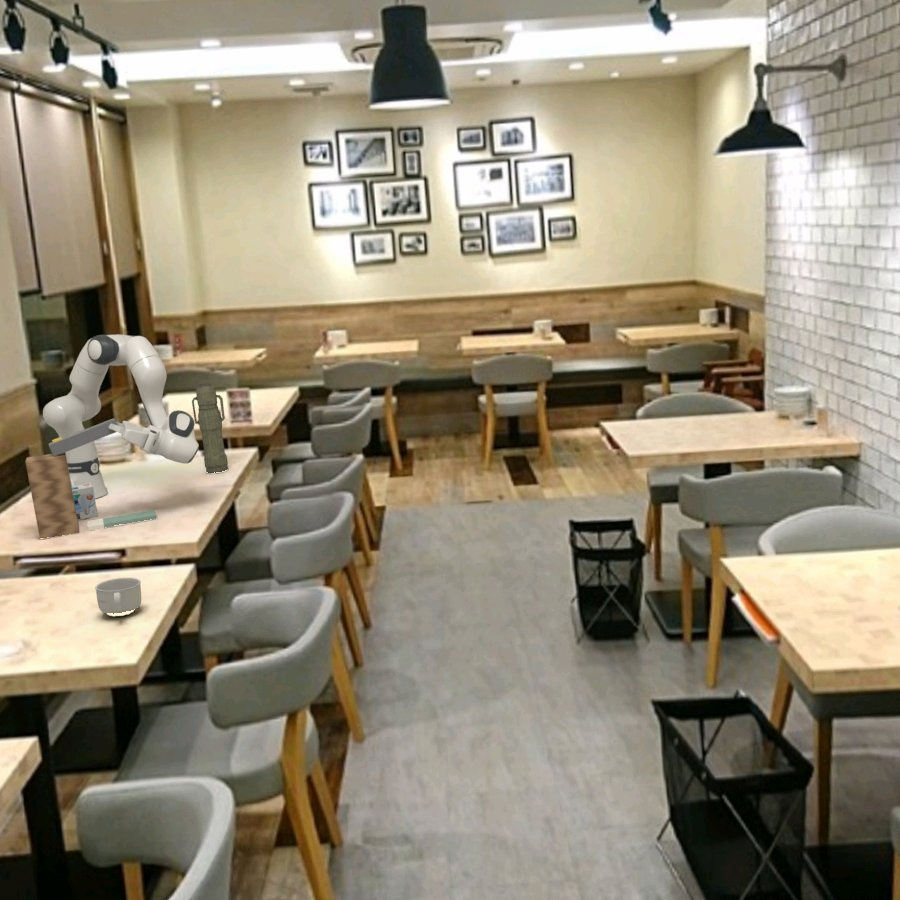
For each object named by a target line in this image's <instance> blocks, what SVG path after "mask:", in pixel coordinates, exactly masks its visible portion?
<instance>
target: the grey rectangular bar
mask: <svg viewBox="0 0 900 900" xmlns="http://www.w3.org/2000/svg"><path fill="white" fill-rule="evenodd" d="M110 423H113V424H115V425H117V419H115V417H114V418H111V419H108V420H106V421H103V422H101V423H98V424H96V425H92V426H90V427H88V428H84V429H85V430H82V431H79V432H77V433H74V434H72V435H69V436H67V437H64V438H62V437H59V436H58V437H56V438H55V439H52V440H51V442H49V443H48V447H49V450H50V451H51V454H53V456H57V455H59V454H62V453H65V452H67V451H70V450H72V449H75V448H77V447H80V446H82V445H85V444H88V443H90V442H93V441H94V442H95V441H98V440H100V439H102V438H105V437H108V436H110V435H113V434H115V433H117V432H116V431H114V430H112V429H109V424H110Z"/></svg>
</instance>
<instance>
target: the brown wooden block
mask: <svg viewBox="0 0 900 900" xmlns="http://www.w3.org/2000/svg"><path fill="white" fill-rule="evenodd" d="M25 466H26V467H25V468H26V472H27V476H28V483H29V487H30V492H31V493H30V494H31V499H32V504H33V510H34V515H35V519H36V524H37V525H36V526H37V531H38V536H39V539H40V538H47V537H54V538H56V537H55V536H59V537H63V536H62V535H65V536H69V534H71V535H75V534H76V535H77V534H79V533H80V527H79V526H80V525H79V520H77V515H76V509H75V503H74V498H73V492H72V487H71V481H70V475H69V470H68V464H67V459H66V453H62V454H59V455H57V456H53V454H52V453H48V454H47V453H46V454H41V455H35V456H27V457H26V459H25Z"/></svg>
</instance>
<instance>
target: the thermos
mask: <svg viewBox="0 0 900 900" xmlns="http://www.w3.org/2000/svg"><path fill="white" fill-rule="evenodd" d="M195 395H196V396H194V397H193V398H192V400H191V404H192V411H193V413H192V414H193V417H194V418H193V420H194V425H195V424H198V427H199V430H200V433H201V438H202V444H203V451H204V457H203V460H204V467H205V472H208V473H214V472H215V473H216V472H222V471H225V470H227V469H228V470H229V467H228V464H229V463H228V461H229V460H228V456H227V454H226V451H225V445H224V438H223V437H224V436H223V431H222V429H223V422H224V420H225V419H226V416H225V408H224V400H223V397H222V396H221V395H220V394H217V393H216V389H215V386H214V385H213V384H212V383H201V384H199V385H197V386H196V390H195ZM218 399H219V403H220V410H219V406H218ZM195 401H197V406H198V415H197V414H196V406H195ZM220 411H221V412H220ZM197 418H198V420H197ZM208 473H207V474H208ZM222 473H223V472H222ZM216 474H217V473H216Z"/></svg>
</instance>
